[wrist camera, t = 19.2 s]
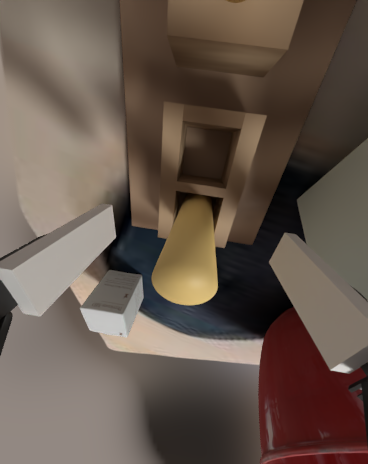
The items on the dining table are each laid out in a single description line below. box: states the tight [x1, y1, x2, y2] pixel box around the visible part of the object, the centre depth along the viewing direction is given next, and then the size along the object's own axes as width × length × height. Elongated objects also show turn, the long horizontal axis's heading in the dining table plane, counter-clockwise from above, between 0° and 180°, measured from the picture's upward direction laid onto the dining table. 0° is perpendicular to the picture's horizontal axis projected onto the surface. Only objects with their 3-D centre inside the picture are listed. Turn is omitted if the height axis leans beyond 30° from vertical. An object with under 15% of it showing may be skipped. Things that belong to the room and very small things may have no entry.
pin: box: [152, 193, 218, 305], centre depth 12 cm, size 3×3×12 cm
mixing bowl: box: [258, 307, 368, 464], centre depth 21 cm, size 28×28×16 cm
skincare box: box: [80, 270, 144, 337], centre depth 24 cm, size 6×6×7 cm
